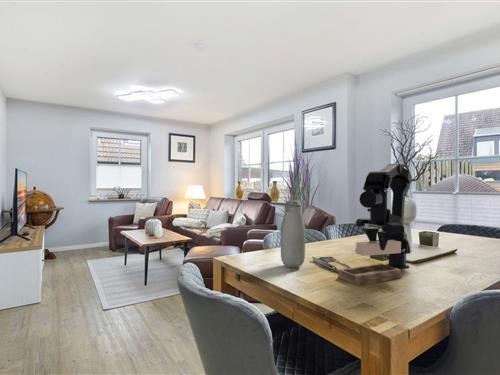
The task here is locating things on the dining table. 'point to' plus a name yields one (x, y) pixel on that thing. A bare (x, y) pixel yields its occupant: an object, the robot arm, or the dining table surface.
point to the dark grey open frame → (328, 259)
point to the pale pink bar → (377, 248)
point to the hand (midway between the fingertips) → (378, 248)
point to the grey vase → (293, 235)
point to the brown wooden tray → (369, 274)
